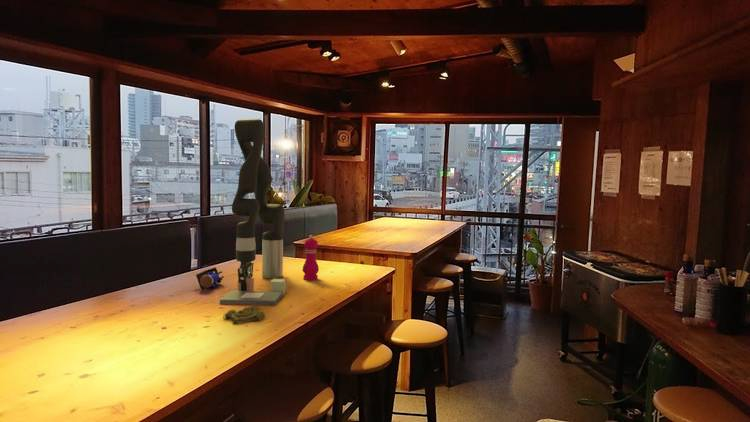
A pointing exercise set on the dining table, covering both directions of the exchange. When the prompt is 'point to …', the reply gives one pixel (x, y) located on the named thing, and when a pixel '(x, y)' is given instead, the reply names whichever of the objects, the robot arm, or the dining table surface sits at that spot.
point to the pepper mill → (310, 260)
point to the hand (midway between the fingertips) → (245, 290)
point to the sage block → (278, 285)
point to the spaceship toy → (244, 315)
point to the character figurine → (209, 278)
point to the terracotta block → (248, 284)
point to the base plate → (251, 297)
